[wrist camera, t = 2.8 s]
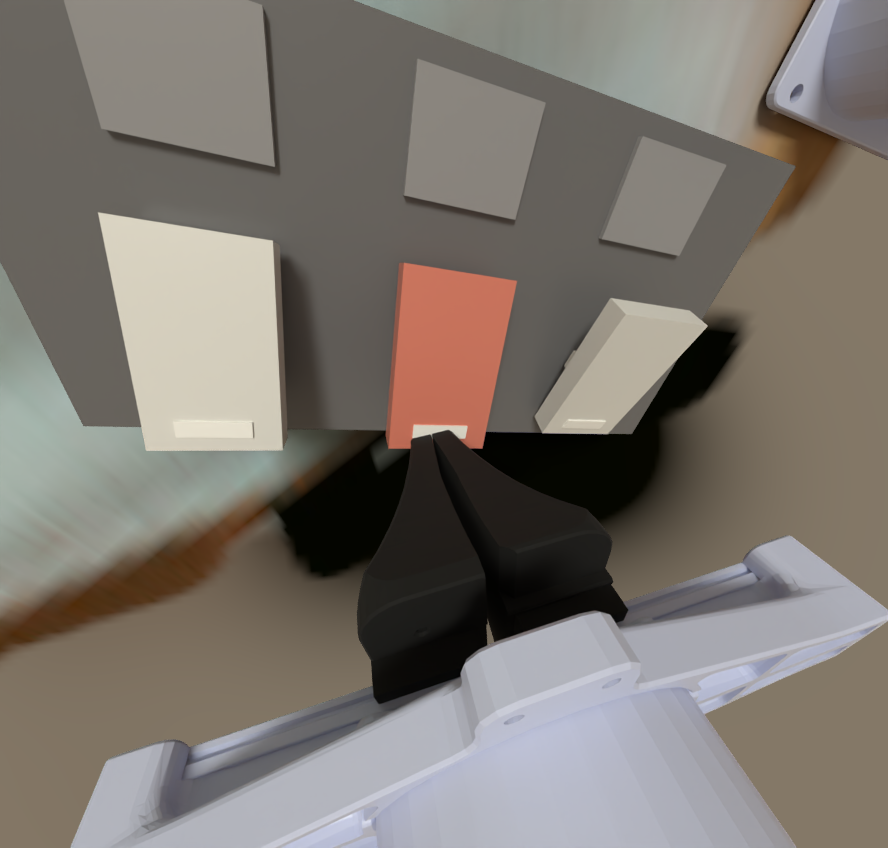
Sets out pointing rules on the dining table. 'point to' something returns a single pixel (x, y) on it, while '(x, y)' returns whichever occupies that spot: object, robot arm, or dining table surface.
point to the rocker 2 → (616, 366)
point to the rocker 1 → (200, 334)
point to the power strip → (347, 188)
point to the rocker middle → (445, 353)
